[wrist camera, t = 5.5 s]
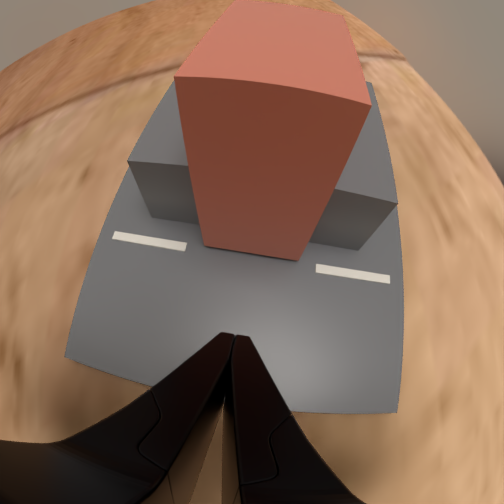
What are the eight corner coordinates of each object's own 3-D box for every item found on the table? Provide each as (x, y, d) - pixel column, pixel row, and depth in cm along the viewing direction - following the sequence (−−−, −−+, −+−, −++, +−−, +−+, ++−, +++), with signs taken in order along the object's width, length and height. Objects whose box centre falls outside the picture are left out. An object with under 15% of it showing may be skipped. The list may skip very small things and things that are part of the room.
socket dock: (390, 411, 13) (456, 417, 8) (71, 358, 13) (5, 341, 8) (380, 141, 21) (407, 88, 16) (166, 107, 21) (156, 50, 16)
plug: (298, 261, 15) (371, 105, 6) (204, 245, 15) (174, 76, 6) (306, 151, 19) (343, 15, 9) (232, 139, 19) (235, -1, 9)
